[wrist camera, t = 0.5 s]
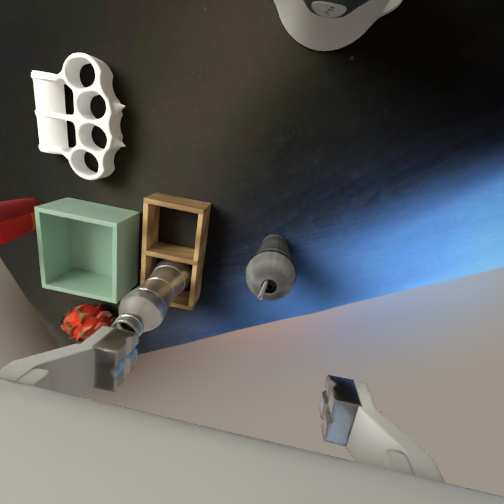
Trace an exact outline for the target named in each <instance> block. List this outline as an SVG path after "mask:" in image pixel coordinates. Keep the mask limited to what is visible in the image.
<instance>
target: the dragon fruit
mask: <svg viewBox="0 0 504 504" xmlns="http://www.w3.org/2000/svg"><path fill="white" fill-rule="evenodd" d="M102 304H103V303H99V304H98V306H94V305H90V304H84V305H81V306H78V307H73V308H71V309H72V310H71V311H70V312H69V313H67V314H66V315H64V317H63V318H62V320H61V322H63V324H60V325H61V329H63V330H64V331H67V334H68V335H70V336H72V337H69V339H71V340H77V342H78V343H80V344H81V343H82V342H83V341H85V340H86V339H87V338H88V337H90V336H91V335H92V334H93V333H95V332H96V331H97V330H98V329H100V328H101V327H102V326H108V327H111V326H112V324H113V322H115V320H116V319H117V317H114V316H112V314H111V313H110V311H106V310H105V307H104V306H103V305H102Z"/></svg>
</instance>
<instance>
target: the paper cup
mask: <svg viewBox="0 0 504 504" xmlns="http://www.w3.org/2000/svg"><path fill="white" fill-rule="evenodd" d="M39 205H42V203H41V202H40V201H39V200H37V199H34V198H24V199H17V200H10V201H4V202H0V246H1V245H3V244H5V243H7V242H10V241H12V240H14V239H16V238H18V237H21V236H23V235H25V234H27V233H29V232H31V231H34V230H36V219H35V209H34V207H35V206H39Z"/></svg>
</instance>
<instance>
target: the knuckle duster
mask: <svg viewBox="0 0 504 504" xmlns="http://www.w3.org/2000/svg"><path fill="white" fill-rule="evenodd" d="M89 63H91V64H92V66H93V67H94V70H95V80H94V83H93V84H92V85H91V86H90V87H86V88H85V87H84V86H83V85H82V83H81V80H80V70H81V68H82V67H83V66H84V65H85V64H89ZM31 78H33V84H34V94H35V104H36V110H35V114H36V115H37V123H38V133H39V142H40V144H39V149H40V151H43V152H47V153H54V154H63V155H64V156H65V157H66V158H67V159H68V160H69V163H70V165H71V167H72V169H73V170H74V171H75V173H76V174H78V175H79V176H80V177H82V178H84V179H87V180H96V179H100V178H104V177H108V176H109V175H111V174H112V173H113V171H114V170H115V166H114V156H115V154H116V152H117V151H118V150H119V149H120V147H126V146H125V145H124V143H123V142H122V139H123V135H122V133H121V129H120V121H121V118H122V116H123V113H122V109H123V108H124V107H125V105H122V104H120V101H119V100H118V99H117V97H116V96H115V94H114V91H113V86H112V80H113V74H112V71H111V70H110V68H109V67H108V66H107V65H106V64H105V63H104V62H103V61H101V60H100V59H97V58H95V57H93V56H90V55H88V54H85V53H74V54H72V55H70V56H69V57H68V58H67V59H66V60H65V62H64V64H63V68H62V71H61V72H60V73H59V74H53V73H47V72H41V71H33V70H32V73H31ZM64 84H66V85H68V87H69V88H70V89H71V90H72V91H73V99H74V114H73V115H70V114H66V105H65V92H64ZM96 95H101V96H102V97H103V99H104V101H105V103H106V112H105V114H104V116H103V117H102V118H100V119H97V118H95V117H94V115H93V114H92V112H91V109H90V103H91V100H92V98H93V97H94V96H96ZM67 121H71V122H73V123H74V125H75V130H76V146H75V147H74V148H71V147H69V146H68V133H67ZM95 125H96V126H98V127H100V128H101V129H102V130H103V131H104V132H105V134H106V137H107V145H106V147H105V148H104V149H102V148H100V147H98V146H97V145H96V144H95V143H94V141H93V139H92V134H91V133H92V129H93V127H94V126H95ZM86 151H87V152H89V153H91V154H93V155H94V156H95V157H96V159H97V161H98V164H99V169H98V172H97V173H96V172H94V171H92V170H90V169H89V168H88V167H87V166H86V164H85V161H84V155H85V153H86Z"/></svg>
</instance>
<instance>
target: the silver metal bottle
mask: <svg viewBox="0 0 504 504" xmlns="http://www.w3.org/2000/svg"><path fill="white" fill-rule="evenodd" d="M191 276H192V273H191V269H190V267H189V266H188V264H186V263H181V262H176V261H172V260H167V259H165V260H163V261H161V262H160V263H158V265H157V266H156V267H155V269H154V271H153V273H152V274H151V276H150V277H149V278H148V279H147V280H146V281H145V282H144V283H143V284H141V285H140V286H139V287H137V288H135V289H134V290H132V291H131V292H129V293H128V294H127V295H125V296H124V297H123V299H122V300H121V303H120V305H119V316H118V317H117V319H116V320H115V322H114V323H113V324H112V326H111V327H113V328H117V329H122V330H126V331H130V332H134V333H137V334H138V335H139V337H140V336H141V335H142V333H143V332H147V331H150V330H153V329H154V328H156V327H157V326H159V325H160V324H161V322H162V321H163V319H164V317H165V315H166V312H167V310H168V308H169V306H170V304H171V303H172V301H173V299H174V298H175V297H176V296H177V295H178V294H179V293H180V292H182V291H183V290H184V289H185V288H186V287H187V286H188V285H189V283H190V280H191Z"/></svg>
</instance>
